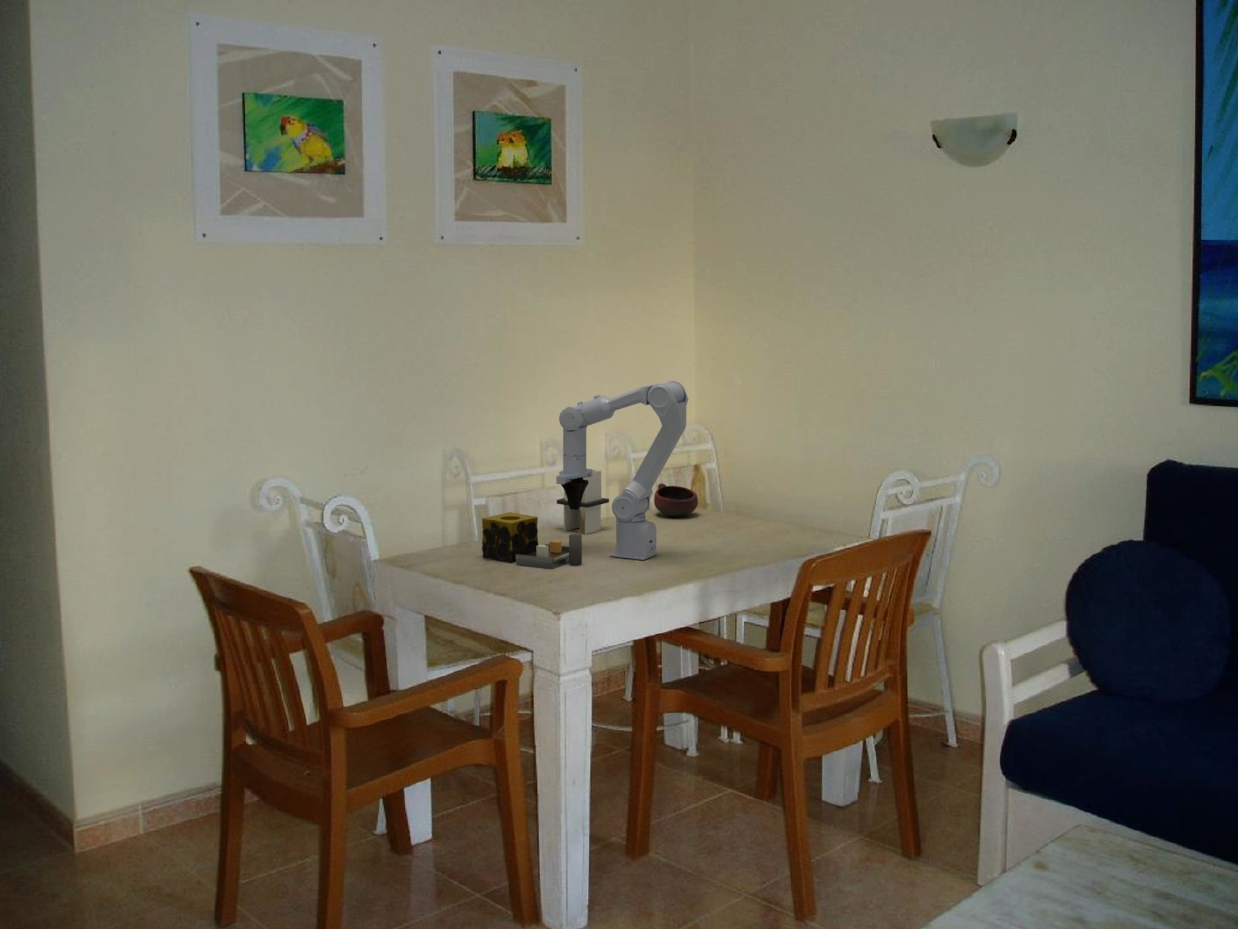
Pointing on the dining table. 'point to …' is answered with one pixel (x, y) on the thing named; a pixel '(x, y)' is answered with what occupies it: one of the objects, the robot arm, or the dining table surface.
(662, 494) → the bowl
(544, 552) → the upright cream block
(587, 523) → the model fireplace
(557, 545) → the tan rectangular prism
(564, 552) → the grey tray
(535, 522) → the candle
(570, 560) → the post
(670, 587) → the dining table surface
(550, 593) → the dining table surface
